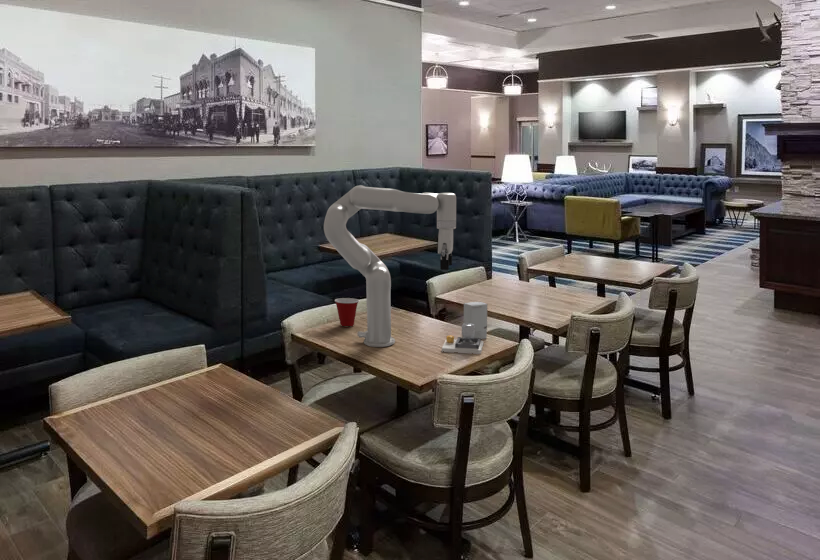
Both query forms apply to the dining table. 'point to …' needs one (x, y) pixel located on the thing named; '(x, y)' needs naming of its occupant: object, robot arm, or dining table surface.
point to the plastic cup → (346, 310)
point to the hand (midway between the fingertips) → (446, 267)
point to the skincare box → (477, 317)
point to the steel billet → (468, 333)
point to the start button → (449, 338)
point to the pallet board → (463, 346)
